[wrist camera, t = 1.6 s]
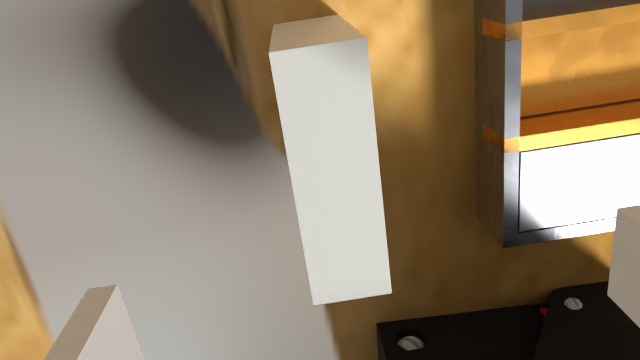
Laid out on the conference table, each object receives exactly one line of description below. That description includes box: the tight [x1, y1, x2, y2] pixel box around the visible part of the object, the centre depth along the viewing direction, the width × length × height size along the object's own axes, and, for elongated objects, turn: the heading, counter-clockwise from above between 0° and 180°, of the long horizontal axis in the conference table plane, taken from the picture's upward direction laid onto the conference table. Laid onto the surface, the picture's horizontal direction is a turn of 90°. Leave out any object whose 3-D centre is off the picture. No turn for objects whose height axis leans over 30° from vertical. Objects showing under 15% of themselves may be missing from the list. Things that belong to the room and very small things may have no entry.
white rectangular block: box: [269, 14, 392, 305], centre depth 24 cm, size 4×11×10 cm, turn 8°
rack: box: [475, 0, 640, 248], centre depth 27 cm, size 15×18×4 cm
